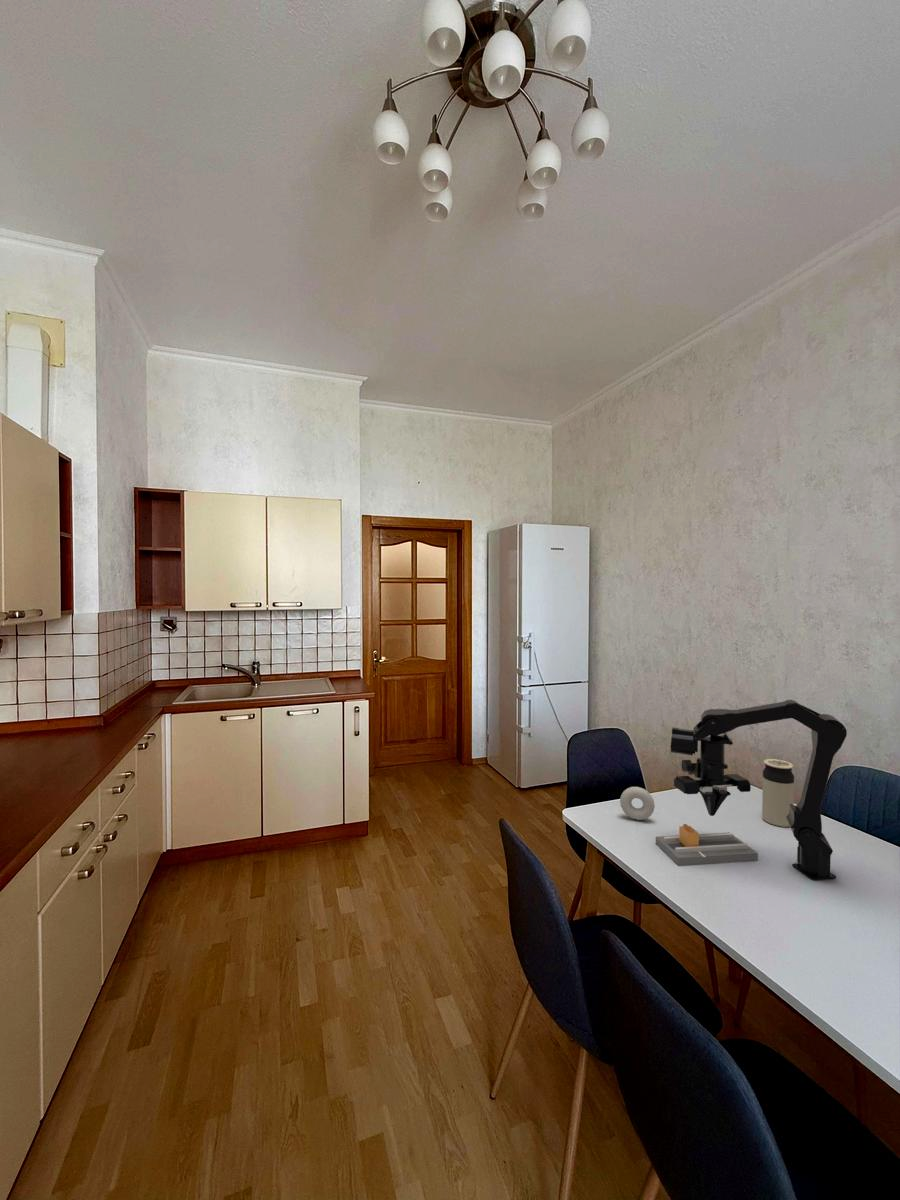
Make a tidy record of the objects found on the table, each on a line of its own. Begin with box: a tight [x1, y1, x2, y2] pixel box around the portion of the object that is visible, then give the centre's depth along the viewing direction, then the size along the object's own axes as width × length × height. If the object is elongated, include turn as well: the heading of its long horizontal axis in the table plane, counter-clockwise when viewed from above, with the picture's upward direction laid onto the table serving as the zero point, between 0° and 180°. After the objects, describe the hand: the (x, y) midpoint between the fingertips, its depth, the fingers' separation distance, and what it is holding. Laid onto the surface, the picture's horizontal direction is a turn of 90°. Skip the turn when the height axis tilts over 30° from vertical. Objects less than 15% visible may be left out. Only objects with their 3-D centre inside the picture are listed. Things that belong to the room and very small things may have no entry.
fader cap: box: [678, 823, 700, 847], centre depth 132 cm, size 4×3×5 cm
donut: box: [619, 786, 656, 821], centre depth 151 cm, size 10×4×10 cm, turn 69°
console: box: [655, 832, 759, 867], centre depth 132 cm, size 12×22×3 cm, turn 96°
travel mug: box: [761, 758, 795, 828], centre depth 150 cm, size 8×8×18 cm
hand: (711, 815), depth 133 cm, fingers closed
